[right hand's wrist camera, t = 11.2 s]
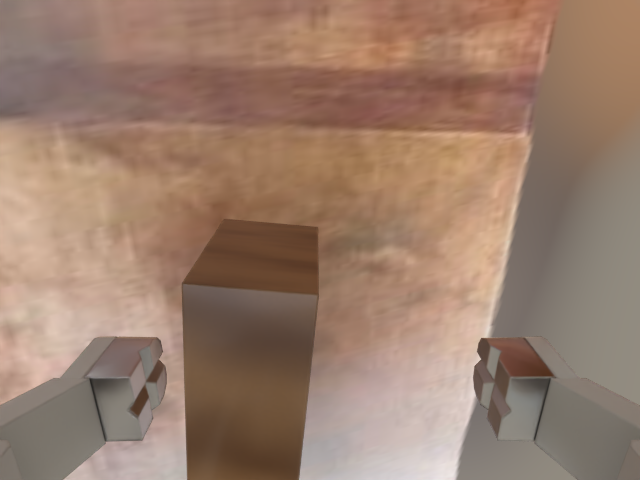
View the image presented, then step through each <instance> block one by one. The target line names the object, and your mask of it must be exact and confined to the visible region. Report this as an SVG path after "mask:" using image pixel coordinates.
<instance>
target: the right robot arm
mask: <svg viewBox="0 0 640 480" xmlns="http://www.w3.org/2000/svg"><path fill="white" fill-rule="evenodd" d="M162 352H163V350H162V345H161V341H160V340H159V339H158V338H157V337H97V338H94V339H93V341H92V342H91V343H90V344H89V345H88V346H87V347H86V349H85V350H84V351H83V352H82V353H81V354H80V356H79V357H78V358H77V359H76V360H75V361H74V362H73V364H72V365H71V366H70V367H69V368H68V369H67V371H66V372H65V373H64V374H63V375H62V376H61V378H53V379H51V380H49V381H47V382H45V383H43V384H41V385H39V386H37V387H35V388H33V389H31V390H30V391H28V392H26V393H24V394H22V395H20V396H18V397H16V398H14V399H12V400H10V401H8V402H6V403H4V404H2V405H0V480H63V479H64V478H65V477H67V476H68V475H69V474H70V473H71V472H73V471H74V470H75V469H76V468H77V467H78V466H80V465H81V464H82V463H83V462H84V461H85V460H87V459H88V458H89V457H90V456H91V455H93V454H94V453H95V452H96V451H97V450H98V449H100V448H101V447H102V446H103V445H104V444H105V441H139V440H143V438H144V436H145V434H146V432H147V430H148V428H149V426H150V424H151V422H152V420H153V415H152V410H153V409H154V408H156V407H157V406H158V405H160V403H161V401H162V399H163V397H164V393H165V389H166V384H167V374H166V367H165V365H164V364H163V363H162V362H161V361H160V360H159V358H160V356H161V354H162ZM477 352H478V354H479V356H480V358H481V360H480V361H479V362H478V363H477V364H476V365H475V367H474V375H473V381H474V390H475V393H476V397H477V399H478V401H479V403H480V405H482V406H483V407H484V408H486V409H487V410H488V415H487V420H488V422H489V424H490V426H491V428H492V430H493V432H494V434H495V436H496V438H497V440H500V441H535V442H534V443H535V444H536V445H537V446H538V447H539V448H541V449H542V450H543V451H544V452H545V453H547V454H548V455H549V456H550V457H551V458H552V459H553V460H555V461H556V462H557V463H558V464H559V465H561V466H562V467H563V468H564V469H565V470H566V471H568V472H569V473H570V474H571V475H572V476H573V477H575V478H576V479H577V480H640V405H638V404H636V403H634V402H632V401H630V400H628V399H626V398H624V397H622V396H620V395H618V394H616V393H614V392H612V391H610V390H608V389H607V388H605V387H603V386H601V385H599V384H597V383H595V382H593V381H591V380H589V379H587V378H579V376H578V375H577V374H576V373H575V372H574V371H573V369H572V368H571V367H570V366H569V365H568V364H567V363H566V361H565V360H564V359H563V358H562V357H561V356H560V354H559V353H558V352H557V351H556V350H555V349H554V348H553V346H552V345H551V344H550V343H549V342H548V341H547V339H545V338H543V337H541V336H537V337H518V338H481V340H480V342H479V344H478V349H477Z"/></svg>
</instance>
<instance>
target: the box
mask: <svg viewBox="0 0 640 480" xmlns="http://www.w3.org/2000/svg"><path fill="white" fill-rule="evenodd" d="M318 298H319V266H318V227H310V226H299V225H287V224H276V223H265V222H253V221H242V220H230V219H224V220H223V221H222V223H221V224H220V226H219V227H218V229H217V230H216V232H215V233H214V235H213V237H212V238H211V240H210V241H209V243H208V244H207V246H206V247H205V249H204V250H203V252H202V253H201V255H200V257H199V258H198V260H197V261H196V263H195V264H194V266H193V267H192V269H191V270H190V272H189V273H188V275H187V276H186V278H185V280H184V281H183V283H182V312H183V348H184V383H185V419H186V454H187V480H299V475H300V466H301V456H302V447H303V438H304V428H305V419H306V410H307V401H308V391H309V382H310V373H311V363H312V354H313V345H314V336H315V326H316V317H317V308H318Z"/></svg>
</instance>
